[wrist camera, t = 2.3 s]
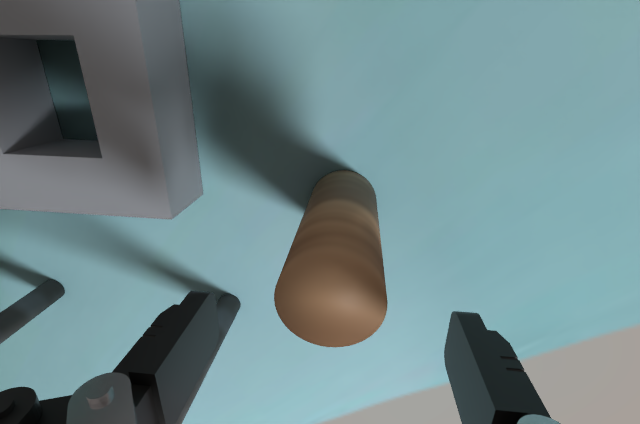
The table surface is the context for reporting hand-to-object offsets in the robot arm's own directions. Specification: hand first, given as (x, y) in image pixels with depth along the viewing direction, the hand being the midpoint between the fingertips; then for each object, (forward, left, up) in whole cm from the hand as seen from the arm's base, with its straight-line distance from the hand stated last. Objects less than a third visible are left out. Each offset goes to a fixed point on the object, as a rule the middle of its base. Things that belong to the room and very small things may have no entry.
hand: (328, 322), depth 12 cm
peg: (0, 0, -11) cm, 11 cm away
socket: (-6, -15, -11) cm, 19 cm away
